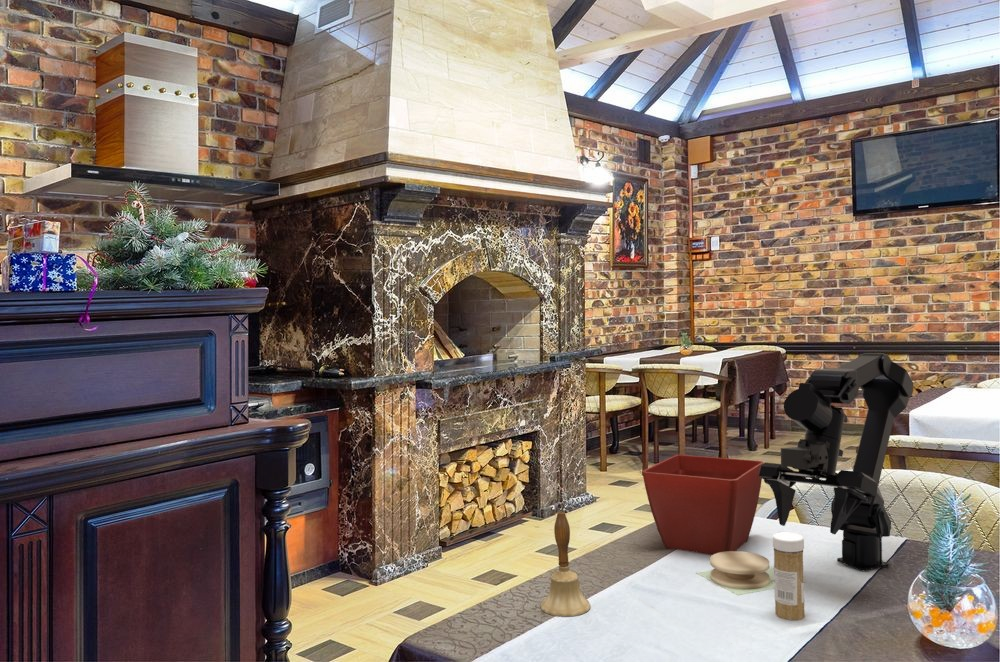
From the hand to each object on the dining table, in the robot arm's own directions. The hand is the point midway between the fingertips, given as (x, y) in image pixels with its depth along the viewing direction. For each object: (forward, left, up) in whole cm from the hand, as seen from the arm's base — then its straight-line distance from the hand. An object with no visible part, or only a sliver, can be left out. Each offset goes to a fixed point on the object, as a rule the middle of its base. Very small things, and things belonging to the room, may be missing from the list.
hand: (806, 529), depth 131 cm
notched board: (+4, -10, -12) cm, 16 cm away
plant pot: (-1, -30, -12) cm, 32 cm away
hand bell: (+38, -14, -12) cm, 42 cm away
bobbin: (+6, -10, -11) cm, 16 cm away
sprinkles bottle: (+9, +6, -12) cm, 16 cm away
